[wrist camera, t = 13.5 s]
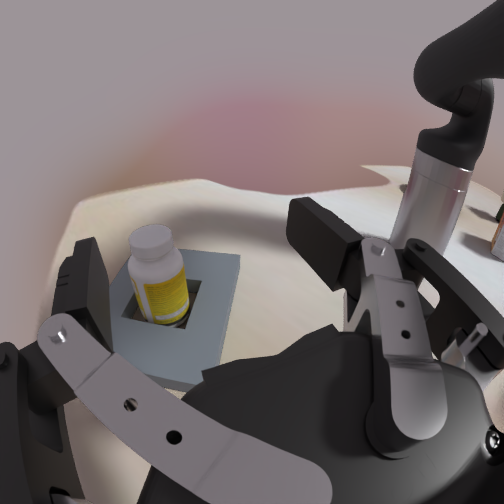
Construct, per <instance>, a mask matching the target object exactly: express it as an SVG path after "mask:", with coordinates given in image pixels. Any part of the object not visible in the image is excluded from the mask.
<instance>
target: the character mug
mask: <svg viewBox="0 0 504 504" xmlns="http://www.w3.org/2000/svg"><path fill="white" fill-rule="evenodd" d="M501 200H502V202H503V203H504V191H503V194H502V197H501ZM503 213H504V204H502V205H501V207H500V209H499V211H498V213H497V215H496V218H497V219H498V220H499V221H500V220H501V218H502V215H503Z"/></svg>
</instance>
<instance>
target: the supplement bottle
mask: <svg viewBox="0 0 504 504" xmlns="http://www.w3.org/2000/svg"><path fill="white" fill-rule="evenodd" d="M173 243H174V242H173V237H172V231H171V230H170V228H168V227H167V226H164V225H159V224H153V225H147V226H143V227H141V228H138V229H137V230H135V231H134V232H133V233H132V234H131V235H130V237H129V245H130V250H131V253H132V255H131V257H130V259H129V261H128V271H129V275H130V278H131V282H132V285H133V288H134V292H135V295H136V298H137V301H138V304H139V307H140V310H141V313H142V316H143V318H144V320H145V322H147V323H152V324H158V325H163V326H168V327H174V328H175V327H178V326H179V325H181V324H182V323H183V322H184V321H185V320H186V319H187V317H188V316H189V313H190V303H189V296H188V290H187V283H186V277H185V269H184V262H183V257H182V254H181V253H180V251H179V250H178V249H177V248H176V247H174V246H173Z"/></svg>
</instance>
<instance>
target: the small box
mask: <svg viewBox="0 0 504 504" xmlns="http://www.w3.org/2000/svg"><path fill="white" fill-rule="evenodd" d="M491 253H492V254H493V255H495V256H496V257H498V258H499V259H501V260H502V261H504V213H503V215H502V218H501V220H500V223H499V225H498V228H497V230H496V232H495V235H494V237H493V239H492V246H491Z"/></svg>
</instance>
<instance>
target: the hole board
mask: <svg viewBox="0 0 504 504" xmlns="http://www.w3.org/2000/svg"><path fill="white" fill-rule="evenodd" d="M178 250H179V251H180V253H181V254H182V257H183V262H184V269H185V277H186V283H187V290H188V292H194V293H198V294H197V296H196V299H195V302H194V305H193V308H192V311H191V314H190V316H189V319H188V322H187V325H186V328H185V329H180V328H174V327H168V326H163V325H158V324H152V323H147V322H142V321H137V320H133V319H131V318H132V316H133V314H134V312H135V310H136V308H137V307H138V305H139V304H138V301H137V298H136V295H135V292H134V288H133V285H132V282H131V278H130V275H129V271H128V261H129V259H130V257H131V256H130V257H129V259H128V260H127V262H126V263H125V264H124V266H123V267H122V269H121V270H120V271H119V273H118V274H117V276H116V277H115V279H114V280H113V282H112V283H111V285H110V286H109V298H110V317H111V330H112V341H113V350H114V352H116V353H118V354H119V355H121V356H122V357H123V358H124V359H126V360H127V361H128V362H129V363H131V364H132V365H133V366H134V367H136V368H137V369H138V370H139V371H141V372H142V373H143V374H145V375H146V376H147V377H149V378H150V379H151V380H153V381H154V382H156V383H157V384H158V385H160V386H161V387H164V388H169V389H173V390H178V391H182V392H188V391H189V390H190V389H192V388H193V387H194V386H196V385H197V384H199V383H200V382H202V381H203V377H202V373H201V371H202V370H205V369H209V368H212V367H215V366H219V363H220V358H221V353H222V348H223V344H224V339H225V334H226V330H227V325H228V320H229V316H230V311H231V306H232V302H233V297H234V292H235V288H236V283H237V279H238V274H239V269H240V255H236V254H226V253H215V252H205V251H195V250H185V249H178Z"/></svg>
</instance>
